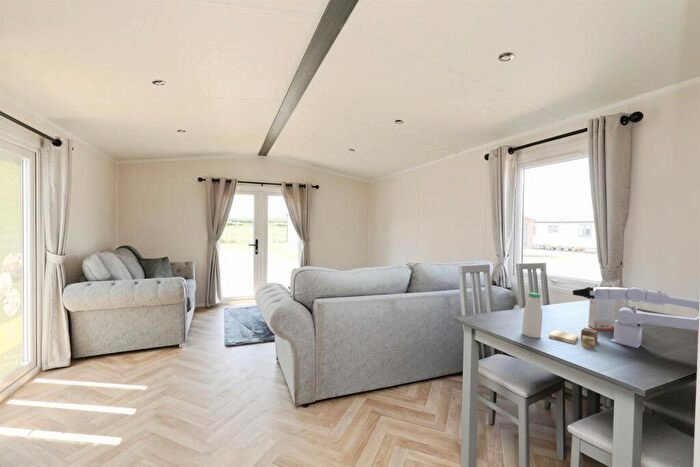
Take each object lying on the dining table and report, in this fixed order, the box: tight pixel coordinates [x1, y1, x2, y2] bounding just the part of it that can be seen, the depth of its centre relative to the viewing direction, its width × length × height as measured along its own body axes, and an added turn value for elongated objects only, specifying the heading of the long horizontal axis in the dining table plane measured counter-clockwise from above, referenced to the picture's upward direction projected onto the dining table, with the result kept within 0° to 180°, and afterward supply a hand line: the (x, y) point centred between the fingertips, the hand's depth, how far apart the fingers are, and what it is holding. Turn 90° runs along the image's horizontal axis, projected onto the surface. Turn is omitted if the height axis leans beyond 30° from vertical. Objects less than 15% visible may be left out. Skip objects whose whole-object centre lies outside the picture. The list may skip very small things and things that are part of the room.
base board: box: [548, 329, 579, 345], centre depth 150 cm, size 10×10×2 cm
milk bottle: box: [521, 292, 543, 339], centre depth 151 cm, size 8×8×20 cm
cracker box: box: [587, 287, 627, 332], centre depth 167 cm, size 14×6×21 cm, turn 84°
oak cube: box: [580, 335, 596, 350], centre depth 141 cm, size 4×4×4 cm
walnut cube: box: [580, 327, 599, 344], centre depth 148 cm, size 5×5×5 cm
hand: (574, 292), depth 161 cm, fingers open, 7 cm apart
